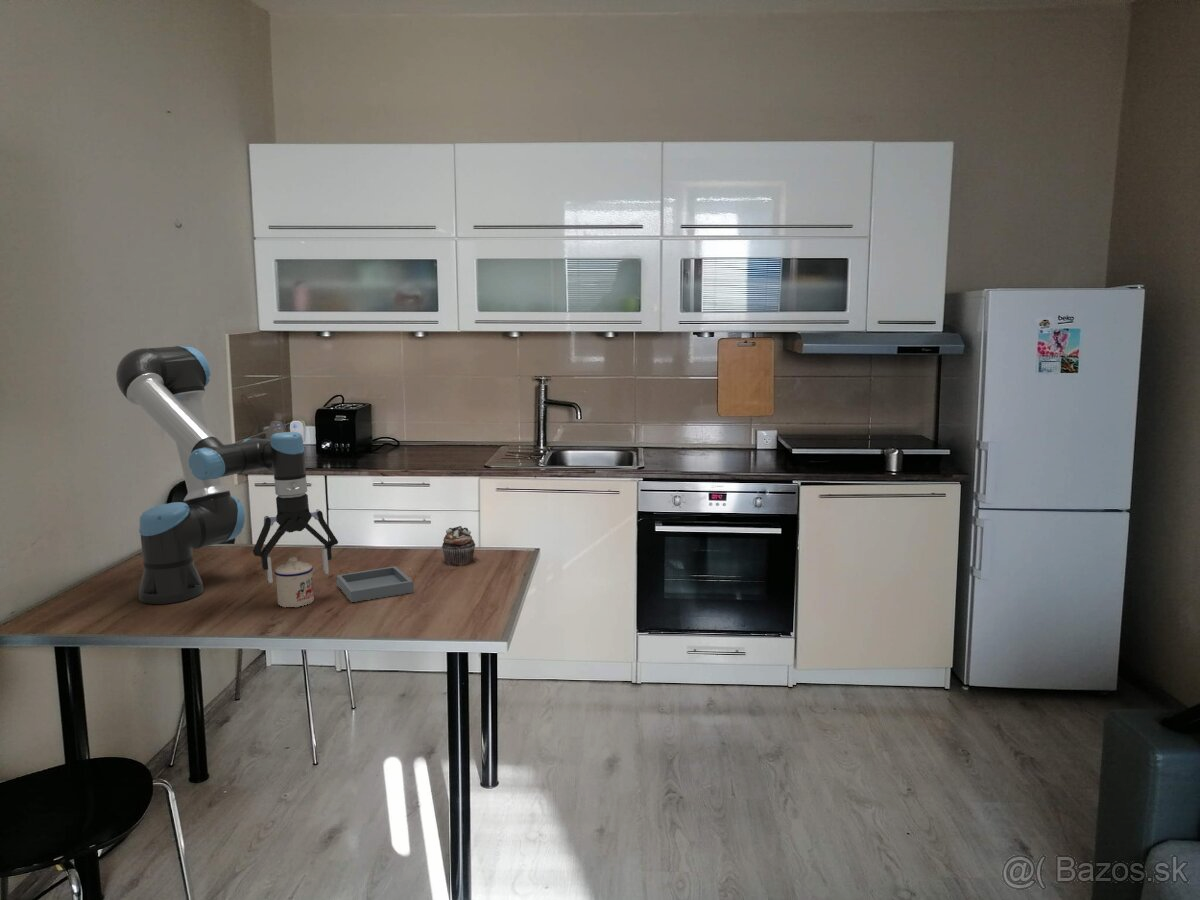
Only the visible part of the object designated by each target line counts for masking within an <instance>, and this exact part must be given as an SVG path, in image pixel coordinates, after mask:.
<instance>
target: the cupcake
mask: <svg viewBox="0 0 1200 900" xmlns="http://www.w3.org/2000/svg"><path fill="white" fill-rule="evenodd" d="M445 533H446V534H445V536H444V537H443V543H442V544H441V549H442V553H443V557H444V561H445V563H446V565H449V564H450V566H465V565H464V564H466V565H469V564H471V563H472V561H473V562H474V556H475V555H474V553H475V548H476V543H475V541H474V539H473V537H472V535H471V533H472V531H471V530H469V529H468V527H462V525H460V526H456V527H449V528H448V529H445Z"/></svg>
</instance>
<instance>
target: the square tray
mask: <svg viewBox="0 0 1200 900" xmlns="http://www.w3.org/2000/svg"><path fill="white" fill-rule="evenodd" d="M337 586H338V587H339V588H340V589H341V590H342V591H341V590H340V589H339V588H338V587H337ZM336 587H337V588H338V589H339V590H340V591H341V593H342V592H343V593H344V594H345V595H346V596H345V595H344V594H343V593H342V594H343V595H344V596H345V597H346V599H347V600H348V599H349V600H350V601H351V602H356V603H358V602H357V601H361V600H368V599H373V600H376V599H375V598H379V599H384V598H383V597H385V598H390V597H389V596H391V597H396V595H397V596H401V595H402V594H403V595H407V594H406V593H409V594H414V593H415V591H414V590H415V588H414V581H413V580H412V579H411V578H410V577H409V576H408V575H406V574H405V572H403V571H402V570H401V569H399V567H397V566H396V565H394V566H387V567H382V568H375V569H369V570H368V569H367V570H362V571H355V572H350V573H341V574H337V575H336ZM413 592H414V593H413ZM403 595H402V596H403ZM349 600H348V601H349ZM350 601H349V602H350ZM368 601H369V600H368ZM351 602H350V603H351Z"/></svg>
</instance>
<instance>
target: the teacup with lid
mask: <svg viewBox="0 0 1200 900" xmlns="http://www.w3.org/2000/svg"><path fill="white" fill-rule="evenodd" d="M313 569H314V568H313V565H312V564H311V563H308V562H303V561H301V560H298V558H297V557H295V556H291V557H289V558H288V561H287V562H285V563H283V564H281V565H279V566H277V567H276V568H275V569H274V574H275V583H276V594H277V604H278V605H280V607H281V606H282V608H286V607H295V608H300V606H302V607H305V606H308V605H311V604H312V603H313V602H314V600H315V597H314V593H315V592H314V581H313V580H314V579H313ZM307 604H308V605H307ZM304 605H305V606H304Z"/></svg>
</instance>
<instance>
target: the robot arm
mask: <svg viewBox="0 0 1200 900" xmlns="http://www.w3.org/2000/svg"><path fill="white" fill-rule="evenodd" d="M116 367H117V368H116V372H115V373H116V374H115V375H116V376H115V377H116V383H117V386H118V388H119V390H120V392H121V393H122V395H123V396H124V397H125V399H127V400H128V401H129V402H130V403H131V404H132V405H136V406H139V407H141V408H142V409H143V410H144V411H145V413H146V414H148V416H149V417H150V418H151V419H152V420H154V422H155V423H157V425H159V427H160V428H162V429H163V431H164V432H165V433H167V435H168V436H170V438H171V439H172V440H173V441H175V445H176V448H177V453H178V457H179V461H180V465H181V469H182V473H183V477H184V481H185V486H186V490H187V494H186V496H185V497H184V499H183V502H182V501H181V502H179V501H177V502H173V501H172V502H170V503H163V504H159V505H155V506H153V507H150V508H148V509H146V510H145V511H144V512H142V514H141V515H140V517H139V535H140V542H141V544H140V545H141V551H142V552H141V553H142V561H143V573H142V577H141V581H140V585H139V589H138V599H139V601H140V602H141V603H144V604H149V605H164V604H165V605H166V604H175V603H180V602H184V601H187V600H191V599H193V598H196V597H198V596H200V595H202V594H203V592H204V583H203V580H202V578H201V576H200V574H199V571H198V569H197V568H196V565H195V563H194V552H193V551H195V550H198V549H202V548H206V547H210V546H213V545H218V544H222V543H223V544H224V543H226V542H228V541H230V540H231V541H232V540H234V539H236V538H237V537H238V536H240V534H241V532H242V531H243V529H244V527H245V522H246V515H245V514H246V513H245V512H246V511H245V509H244V506H243V504H242V502H240V500H239V498H238V497H235V496H232V495H231V491H230V489H228V488H227V487H225V486H224V485H223V484H222V480H221V478H224V477H228V476H232V475H239V474H243V473H249V472H253V471H259V470H271V471H273V478H274V491H275V492H274V493H275V495H277V496H276V498H275V503H276V513H277V514H276V515H275V516H268V515H266V516H264V518H263V526H262V529H261V531H260V533H259V536H258V537H257V540H256V543H255V545H254V548H253V550H252V554H253V555H254V556H255V557H260V558H261V567H262V569H263V570H264V571H266V573H267V581H268V583H269V584H274V583H273V582H274V581H273V571H272V568H273V567H272V558H271V556H270V553H271V551H272V550H273V549H274V547H275V546H276V545H277V543H278V542H279V540H281V537H282V536H283V535H284V534H285V533H286V532H287V533H294V532H302V531H303V530H307V531H308V532H309V533H310V534H311V535H312V536H313V537H315V538H316V540H318V541H319V542H320V543H321V544H322V545H324V546H321V556H322V569H323V573H324V574H325V575H328V574H330V572H329V571H330V570H329V561H331V560H332V557H333V555H332V548H333V546H335V545H338V544H339V540H338V538H336V536H335V534H334V532H333V531H332V530H331V528H330V526H329V525H328V524H327V522H326V521H325V518H324V513H323V511H322V510H320V509H316V510H315V511H310V507H309V496H308V494H307V492H308V484H307V483H308V482H307V473H306V470H307V469H306V457H305V450H306V448H305V447H304V446H305V445H304V439H303V435H302V434H301V433H300V432H298V431H297V432H296V431H286V432H285V431H283V432H277V433H276V432H275V433H273V434H272V435H271V436H270V439H266V438H265V439H263V438H259V437H253V438H246V439H243V440H242V441H241V442H240V441H239V442H234V443H227V444H225V443H224V444H223V443H222V441H221V440H219V439H218V437H216V436H215V435H214V434H213V433H212V432H211V431H210V430H209V428H208V426H209V425H208V422H207V418H206V415H205V410H204V406H203V402H202V398H203V397H204V395H205V394H206V389H205V388H206V386H208V384H209V382H210V377H211V369H210V365H209V362H208V360H207V358H206V356H205V355H204V354H203V352H201V351H199V350H198V349H197V348H195V347H192V346H182V345H181V346H180V345H175V346H165V347H152V348H150V347H149V348H147V347H145V348H137V349H134V350H132V351H129V352H128V353H127V354H125V355H124V356H123V357H122V358H121V360H120V361H119V363H118V365H117V366H116ZM312 517H313V518H314V519H315V520H317V521H318V524H320V526H321V528H322V529H323V531H324V532H325V533H326V535H327V537H328V538H329V540H326V538H325V537H323V536H322V535H321V534H320V533H319V532H318V531H316V529H315V528H314V527H313V526H311V525H310V524H309V522H310V521H311V519H312ZM275 523H277V524H278V527H277V529H276V531H275V532H274V534H273V535H272V536H271V538H270V539H269V540H268V542H267V543H266V545H265V546H264V544H265V542H266V540H267V537H268V535H269V532H270V530H271V527H272V526H274V524H275Z"/></svg>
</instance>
